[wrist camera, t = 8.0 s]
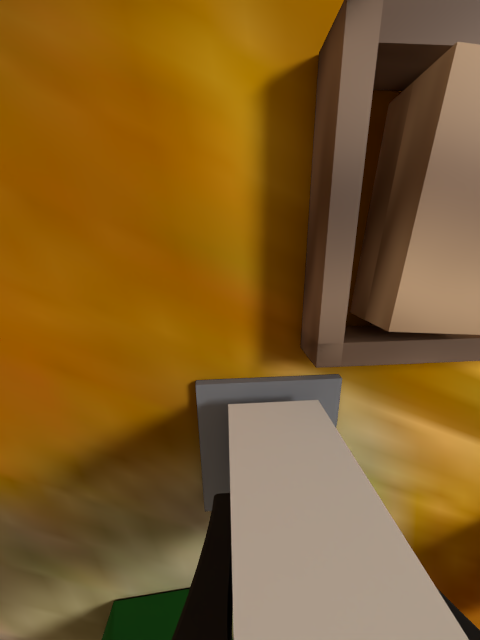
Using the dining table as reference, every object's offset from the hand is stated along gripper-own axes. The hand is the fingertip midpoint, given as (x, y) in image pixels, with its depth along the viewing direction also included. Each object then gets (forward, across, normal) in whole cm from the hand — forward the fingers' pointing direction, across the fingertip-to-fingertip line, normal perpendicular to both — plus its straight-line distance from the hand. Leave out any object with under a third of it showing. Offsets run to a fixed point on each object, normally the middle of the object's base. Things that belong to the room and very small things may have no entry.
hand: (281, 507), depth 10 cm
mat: (+3, 0, 0) cm, 3 cm away
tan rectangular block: (+4, -6, -11) cm, 13 cm away
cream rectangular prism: (+2, 0, 0) cm, 2 cm away
